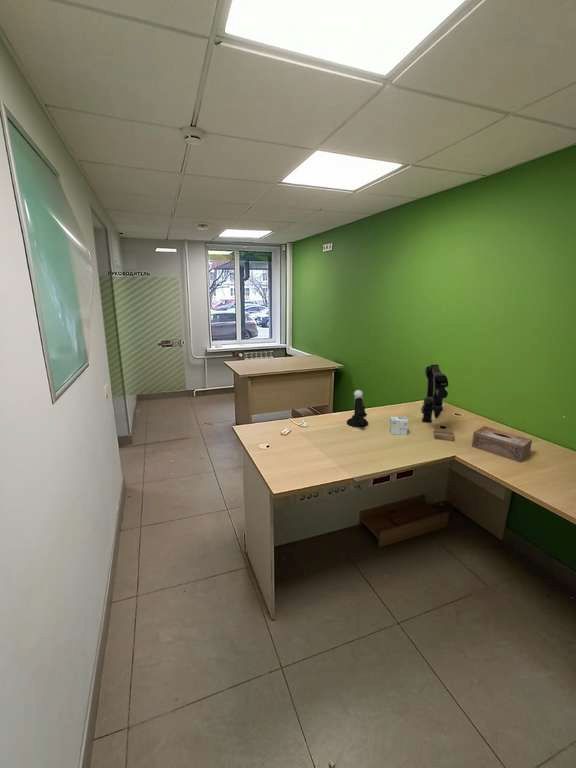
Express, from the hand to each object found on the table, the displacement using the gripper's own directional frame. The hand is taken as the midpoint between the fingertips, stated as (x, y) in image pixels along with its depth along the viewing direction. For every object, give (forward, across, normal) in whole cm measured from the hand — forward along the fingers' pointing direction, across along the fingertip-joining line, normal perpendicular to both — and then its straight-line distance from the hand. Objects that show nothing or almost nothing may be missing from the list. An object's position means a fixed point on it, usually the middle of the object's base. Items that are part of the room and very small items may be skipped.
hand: (436, 416), depth 218 cm
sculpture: (+12, +3, -49) cm, 51 cm away
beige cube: (+2, 0, 0) cm, 2 cm away
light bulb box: (+13, +7, -22) cm, 26 cm away
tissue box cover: (+13, +11, +36) cm, 40 cm away
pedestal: (+12, +2, +6) cm, 14 cm away
